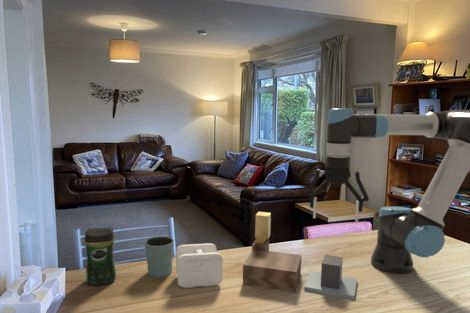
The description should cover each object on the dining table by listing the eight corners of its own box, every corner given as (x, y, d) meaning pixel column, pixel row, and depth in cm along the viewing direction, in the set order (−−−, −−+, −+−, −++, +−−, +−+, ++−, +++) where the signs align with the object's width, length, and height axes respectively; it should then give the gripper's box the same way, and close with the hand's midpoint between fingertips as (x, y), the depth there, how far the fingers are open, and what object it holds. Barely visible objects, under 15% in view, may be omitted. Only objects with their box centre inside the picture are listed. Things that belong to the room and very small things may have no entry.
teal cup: (179, 270, 139) (179, 238, 137) (162, 281, 130) (162, 247, 128) (156, 264, 143) (156, 234, 142) (139, 275, 134) (138, 242, 133)
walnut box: (302, 264, 146) (303, 243, 144) (295, 292, 124) (296, 267, 123) (256, 258, 151) (256, 238, 150) (241, 284, 129) (241, 260, 128)
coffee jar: (116, 274, 134) (115, 224, 132) (114, 284, 127) (113, 231, 124) (87, 276, 132) (85, 225, 130) (84, 287, 124) (82, 233, 122)
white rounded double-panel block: (218, 273, 137) (218, 242, 135) (222, 287, 127) (223, 253, 125) (176, 276, 134) (176, 244, 132) (177, 290, 124) (177, 256, 122)
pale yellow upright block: (270, 237, 150) (270, 212, 149) (266, 244, 142) (266, 218, 141) (257, 236, 151) (258, 211, 150) (253, 243, 144) (253, 217, 142)
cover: (356, 282, 132) (358, 256, 131) (354, 300, 120) (356, 271, 119) (310, 275, 138) (312, 250, 136) (304, 290, 126) (305, 263, 124)
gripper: (377, 156, 123) (374, 219, 126) (300, 153, 130) (298, 212, 133) (379, 159, 116) (375, 226, 119) (298, 155, 123) (296, 218, 126)
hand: (335, 219), depth 126 cm, fingers open, 13 cm apart
